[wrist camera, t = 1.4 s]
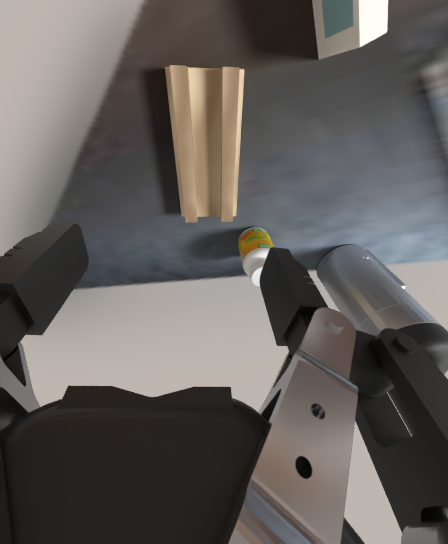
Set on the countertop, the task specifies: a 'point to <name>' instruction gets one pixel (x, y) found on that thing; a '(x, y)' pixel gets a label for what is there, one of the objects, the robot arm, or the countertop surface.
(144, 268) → the countertop surface
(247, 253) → the supplement bottle
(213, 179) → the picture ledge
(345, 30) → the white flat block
